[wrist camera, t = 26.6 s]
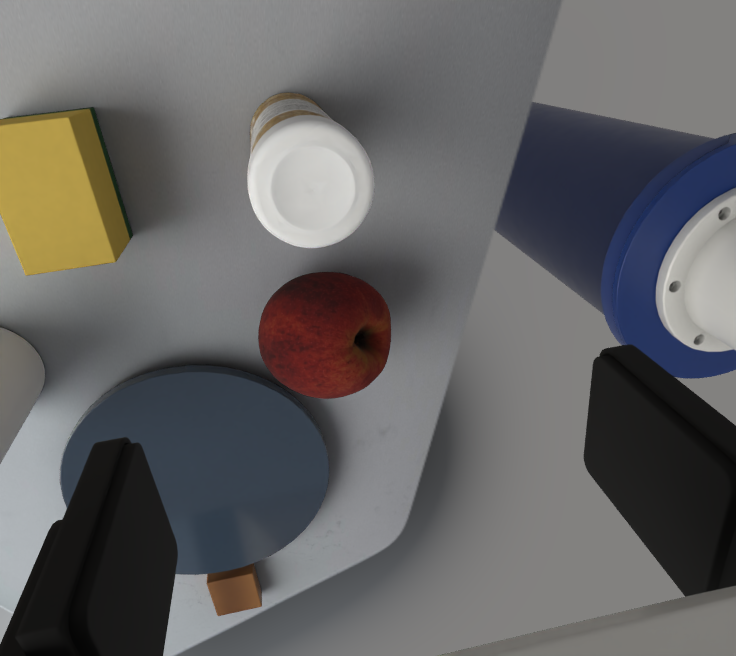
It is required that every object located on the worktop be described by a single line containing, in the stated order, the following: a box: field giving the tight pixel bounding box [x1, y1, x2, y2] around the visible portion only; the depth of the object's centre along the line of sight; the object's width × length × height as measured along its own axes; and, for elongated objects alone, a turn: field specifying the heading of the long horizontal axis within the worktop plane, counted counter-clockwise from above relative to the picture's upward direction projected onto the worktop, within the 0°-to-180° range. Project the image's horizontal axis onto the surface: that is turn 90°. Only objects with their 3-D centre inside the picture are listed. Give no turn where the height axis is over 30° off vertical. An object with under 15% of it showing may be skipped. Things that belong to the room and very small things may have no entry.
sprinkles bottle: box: [247, 93, 375, 248], centre depth 26 cm, size 5×5×14 cm
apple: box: [258, 272, 391, 399], centre depth 33 cm, size 7×8×8 cm
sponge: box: [0, 107, 133, 275], centre depth 29 cm, size 7×4×4 cm, turn 6°
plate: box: [60, 365, 329, 575], centre depth 40 cm, size 18×18×2 cm
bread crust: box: [207, 563, 262, 616], centre depth 45 cm, size 4×4×1 cm
